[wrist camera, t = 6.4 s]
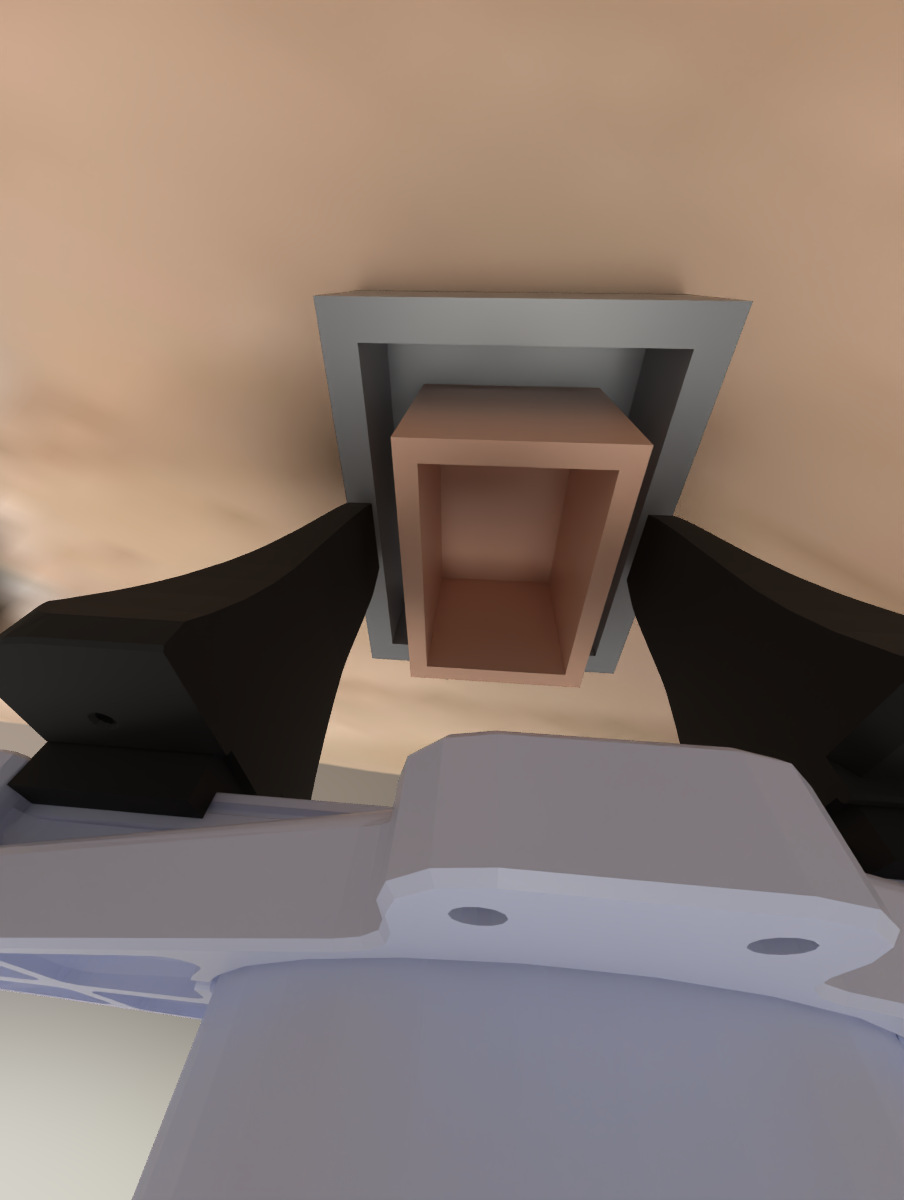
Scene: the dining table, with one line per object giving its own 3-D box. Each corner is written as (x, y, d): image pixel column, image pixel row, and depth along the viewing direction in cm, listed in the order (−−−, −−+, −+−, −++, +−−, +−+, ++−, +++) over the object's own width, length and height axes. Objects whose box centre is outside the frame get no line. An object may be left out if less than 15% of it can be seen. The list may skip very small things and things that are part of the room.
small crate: (599, 387, 12) (653, 445, 8) (558, 586, 16) (579, 687, 12) (424, 383, 12) (390, 437, 8) (430, 580, 16) (410, 676, 12)
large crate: (685, 294, 11) (753, 300, 8) (594, 610, 17) (613, 673, 14) (357, 290, 11) (313, 296, 8) (391, 598, 18) (372, 658, 15)
